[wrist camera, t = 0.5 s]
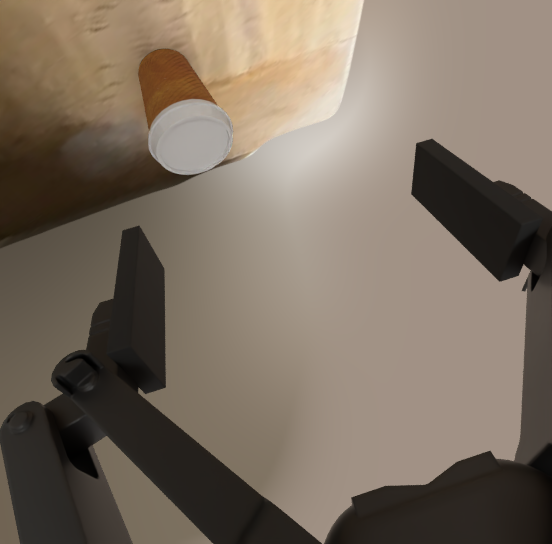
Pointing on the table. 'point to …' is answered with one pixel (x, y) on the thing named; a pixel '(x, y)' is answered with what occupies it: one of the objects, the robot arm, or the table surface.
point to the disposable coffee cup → (182, 115)
